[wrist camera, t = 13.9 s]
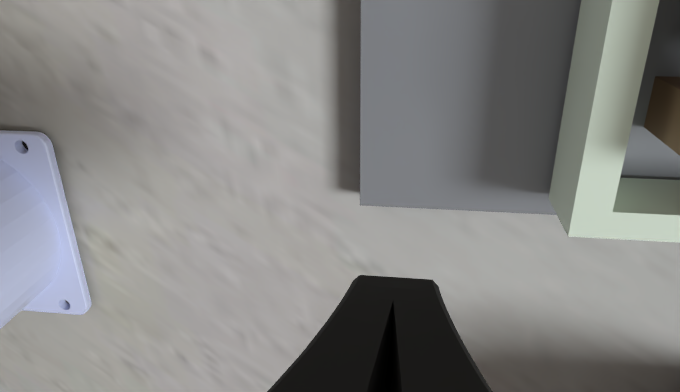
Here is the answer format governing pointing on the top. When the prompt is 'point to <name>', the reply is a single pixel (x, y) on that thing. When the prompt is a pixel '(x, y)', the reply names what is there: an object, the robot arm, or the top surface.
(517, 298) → the top surface
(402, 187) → the housing base
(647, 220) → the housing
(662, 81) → the jaw block
